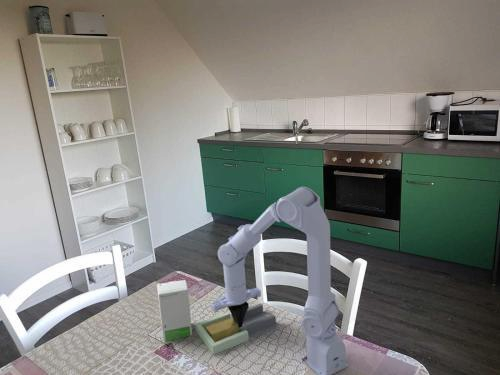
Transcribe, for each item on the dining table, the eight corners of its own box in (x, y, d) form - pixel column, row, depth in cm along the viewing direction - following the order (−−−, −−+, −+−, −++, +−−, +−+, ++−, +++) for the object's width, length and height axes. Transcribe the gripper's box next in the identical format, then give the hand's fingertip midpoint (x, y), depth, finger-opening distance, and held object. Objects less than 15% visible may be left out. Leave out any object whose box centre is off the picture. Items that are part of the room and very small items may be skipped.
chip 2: (239, 334, 111) (238, 324, 110) (226, 339, 109) (225, 329, 109) (232, 326, 115) (231, 317, 114) (220, 331, 113) (219, 322, 112)
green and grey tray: (279, 331, 113) (279, 319, 112) (213, 358, 104) (212, 346, 103) (258, 311, 123) (257, 300, 122) (196, 334, 114) (195, 323, 113)
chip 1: (225, 338, 110) (224, 329, 109) (212, 344, 108) (211, 334, 107) (219, 331, 113) (218, 322, 112) (206, 336, 111) (205, 327, 110)
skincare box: (163, 345, 110) (156, 295, 106) (162, 331, 116) (155, 283, 112) (194, 338, 112) (188, 289, 108) (191, 325, 119) (185, 278, 114)
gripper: (251, 269, 116) (254, 310, 120) (205, 284, 110) (209, 327, 113) (263, 279, 110) (266, 322, 114) (215, 295, 104) (220, 340, 107)
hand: (238, 325), depth 113 cm, fingers closed
